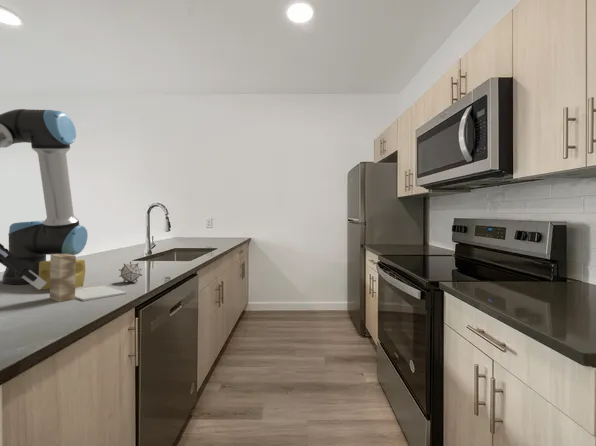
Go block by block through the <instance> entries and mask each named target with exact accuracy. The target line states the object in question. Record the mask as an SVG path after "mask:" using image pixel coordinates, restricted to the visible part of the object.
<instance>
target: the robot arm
mask: <svg viewBox="0 0 596 446" xmlns="http://www.w3.org/2000/svg"><path fill="white" fill-rule="evenodd" d="M76 136H77V131H76V126H75V124H74V122H73V121H72V119H71V118H70V116H69V115H68V114H66V113H65V112H63V111H60V110H53V109H30V108H29V109H25V108H18V109H12V110H8V111H6V112H3V113H1V114H0V149H1V148H5V149H6V148H8V147H10V146H12V145H14V144H20V143H29V144H31V145H30V147H31V149H32V150H33V151H34V152H36V154H37V157H38V163H39V172H40V176H41V185H42V192H43V200H44V206H45V213H46V218H45V219H44V220H35V221H34V220H33V221H19V222H14V223H11V224H10V226H9V230H8V234H7V235H8V248H5V246H4V245H3V244H2V243H0V264H1V265H3V266H4V267H5V270H4V272H3V274H2V283H3V284H6V285H29V284H30V285H32V286H33V287H34V288H36V289H37V290H39V291H40V290H42V289H41V288H42V287H43V286H44V285H45V284H46V283H47V282H45V281H44V280H43V279H41V278H40V277H39V262H42V261H47V256H48V255H49V256H51V255H53V254H70V255H75V256H76V255H79V254H80V253H81V252H82V251H83V250H84V249H85V246H86V245H87V242H88V237H89V235H88V229H86V227H85V226H83V225H80V220H79V218H78V217H76V216H75V215H74V207H73V201H72V200H73V199H72V191H71V183H70V174H69V165H68V159H67V153H68V152H69V151H70V150H71V145H72V144H73V143H74V142H75V141H76Z"/></svg>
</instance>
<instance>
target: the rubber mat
mask: <svg viewBox="0 0 596 446" xmlns="http://www.w3.org/2000/svg"><path fill="white" fill-rule="evenodd" d="M123 295H127V291H123V290H121V289H120V290H119V289H118V288H113V287H110V286H107V285H98V286H97V285H96V286H90V287H84V288H75V300H78V301H79V300H80V301H82V302H86V301H93V300H99V299H105V298H110V297H115V296H116V297H117V296H123Z"/></svg>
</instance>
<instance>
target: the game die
mask: <svg viewBox="0 0 596 446" xmlns="http://www.w3.org/2000/svg"><path fill="white" fill-rule="evenodd" d="M138 265H139V263H132V261H130V262H129V263H127V264H126V263H123V266H122V268H121V269H118V271H120V275H119V276H118V277H119V278H120V277H121V278H122V280H123V281H122V283H124V282H129V284H132V282H135V281H136V282H138V279H139V278H140V276H143V274H141V271H142V268H140V266H138Z"/></svg>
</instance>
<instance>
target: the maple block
mask: <svg viewBox="0 0 596 446" xmlns="http://www.w3.org/2000/svg"><path fill="white" fill-rule="evenodd" d="M76 257H77V256H76V255H70V254H53V255H50V260H49V261H50V290H49V299H52V300H54V301H57V302H59V303H60V302H67V301H72V300H73V301H74V300H76V298H75V289H76V288H75V274H76V260H77V258H76Z"/></svg>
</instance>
